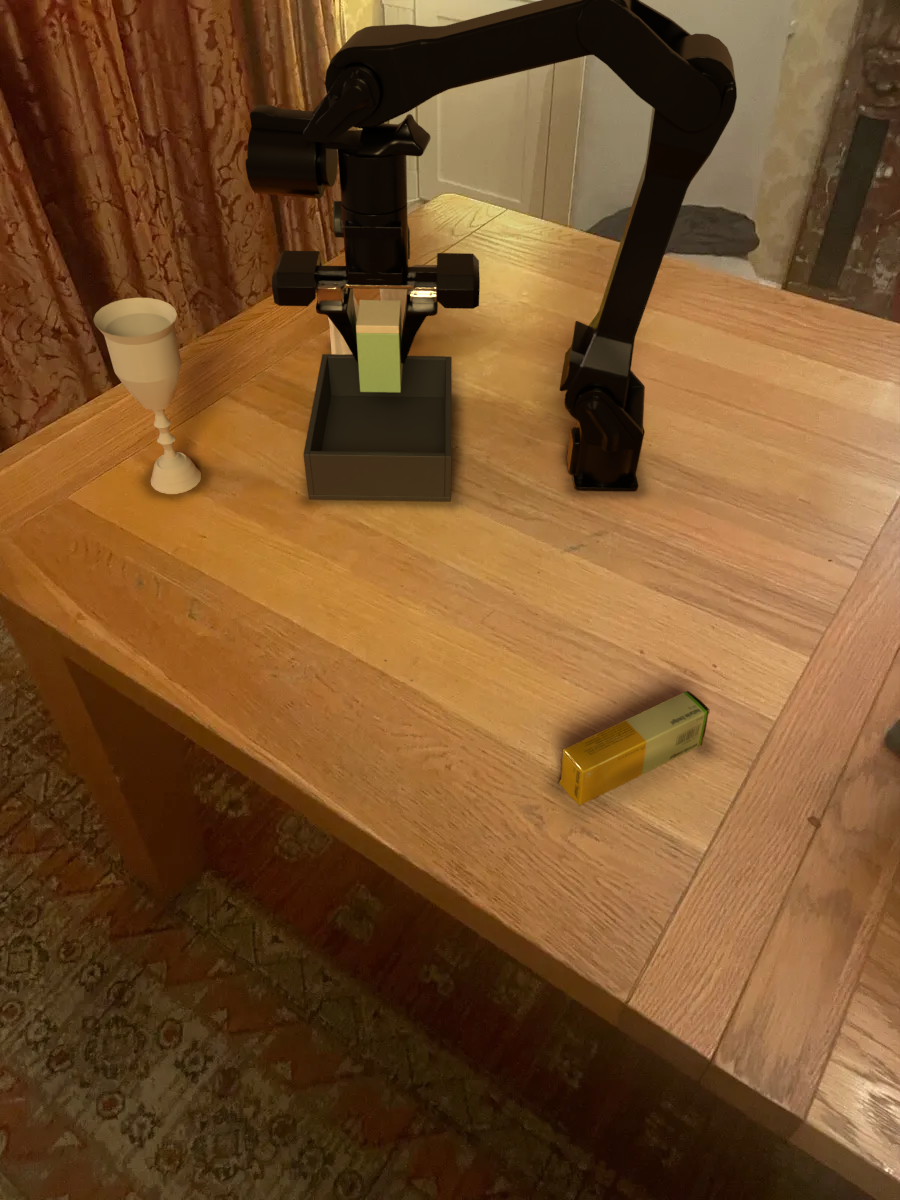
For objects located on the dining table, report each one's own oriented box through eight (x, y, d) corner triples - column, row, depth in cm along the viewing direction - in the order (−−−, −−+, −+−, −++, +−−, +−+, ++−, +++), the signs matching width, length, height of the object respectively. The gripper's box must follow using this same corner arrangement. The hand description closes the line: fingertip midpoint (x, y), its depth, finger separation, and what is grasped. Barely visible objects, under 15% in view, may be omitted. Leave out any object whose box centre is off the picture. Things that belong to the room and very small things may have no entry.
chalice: (225, 469, 94) (193, 308, 81) (185, 507, 90) (144, 344, 77) (167, 450, 96) (126, 290, 83) (125, 487, 92) (76, 324, 79)
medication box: (681, 722, 72) (689, 687, 70) (704, 745, 71) (713, 709, 68) (557, 783, 68) (560, 747, 65) (578, 808, 66) (583, 773, 64)
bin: (450, 399, 104) (451, 356, 100) (450, 501, 91) (451, 456, 87) (326, 397, 103) (322, 353, 99) (308, 499, 91) (303, 454, 87)
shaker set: (418, 328, 114) (418, 242, 106) (428, 345, 112) (428, 258, 104) (325, 342, 112) (317, 255, 104) (333, 359, 109) (325, 271, 101)
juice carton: (402, 365, 93) (401, 300, 88) (400, 392, 89) (398, 326, 84) (363, 365, 93) (359, 299, 88) (360, 392, 89) (355, 325, 84)
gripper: (479, 167, 84) (474, 321, 95) (278, 163, 84) (296, 318, 95) (482, 218, 76) (476, 379, 88) (261, 214, 76) (282, 376, 87)
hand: (381, 360), depth 90 cm, fingers closed on juice carton, 4 cm apart
